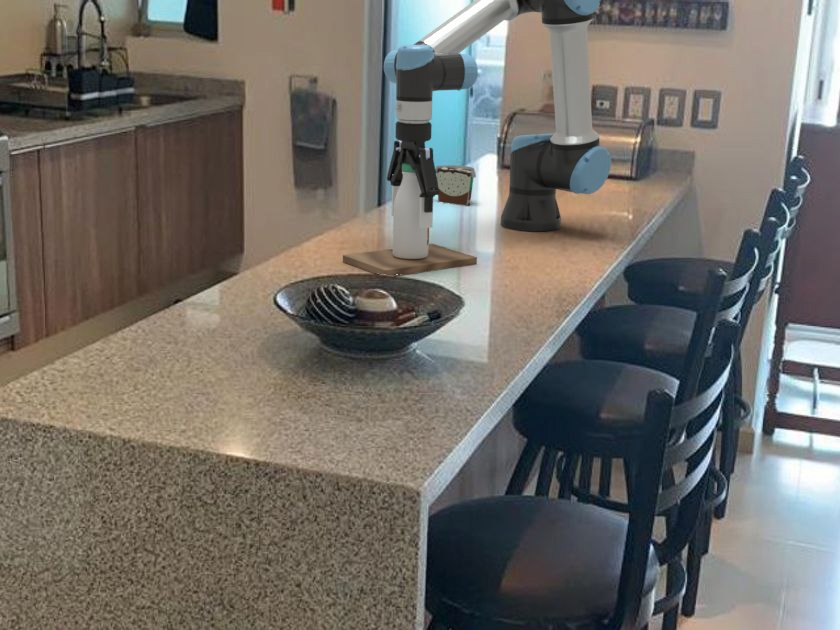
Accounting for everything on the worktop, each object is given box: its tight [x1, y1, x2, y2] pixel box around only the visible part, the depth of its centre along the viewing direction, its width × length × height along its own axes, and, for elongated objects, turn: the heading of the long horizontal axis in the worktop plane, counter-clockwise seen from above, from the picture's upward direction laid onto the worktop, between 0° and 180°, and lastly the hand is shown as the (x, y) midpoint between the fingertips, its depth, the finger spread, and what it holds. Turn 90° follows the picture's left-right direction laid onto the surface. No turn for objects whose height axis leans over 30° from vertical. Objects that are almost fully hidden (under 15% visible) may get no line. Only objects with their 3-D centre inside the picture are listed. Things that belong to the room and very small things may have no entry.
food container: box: [435, 164, 477, 207], centre depth 321 cm, size 12×6×10 cm, turn 58°
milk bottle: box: [392, 163, 430, 259], centre depth 247 cm, size 8×8×20 cm
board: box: [342, 243, 478, 276], centre depth 250 cm, size 24×16×2 cm, turn 126°
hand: (411, 221), depth 247 cm, fingers open, 13 cm apart
